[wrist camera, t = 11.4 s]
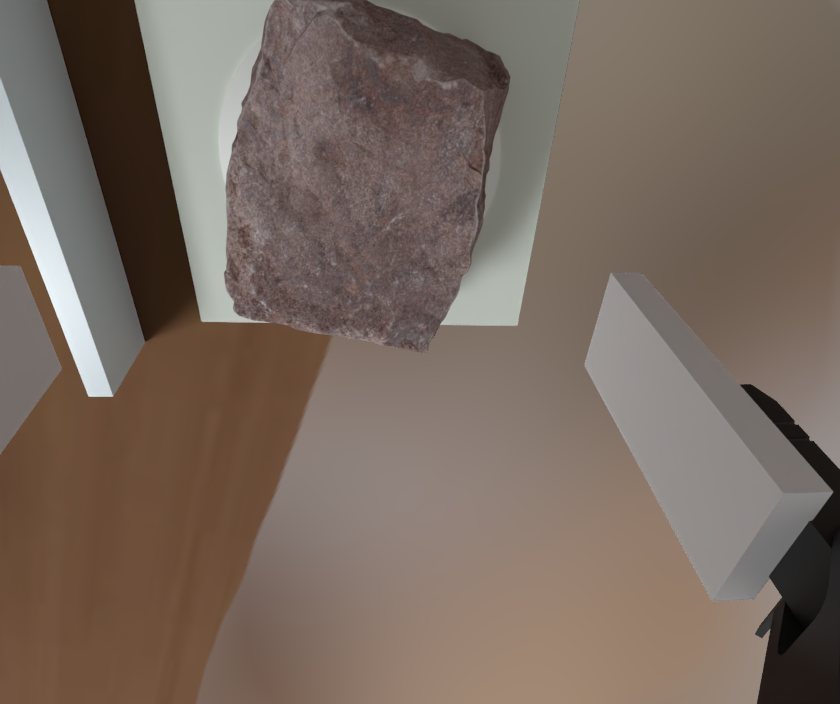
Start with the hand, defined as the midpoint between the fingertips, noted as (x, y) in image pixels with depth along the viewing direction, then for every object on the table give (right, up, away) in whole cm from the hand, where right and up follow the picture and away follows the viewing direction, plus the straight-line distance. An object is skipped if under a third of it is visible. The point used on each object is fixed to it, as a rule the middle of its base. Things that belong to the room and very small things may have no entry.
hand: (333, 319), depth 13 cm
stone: (-1, +6, +9) cm, 11 cm away
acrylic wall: (-11, +6, +9) cm, 16 cm away
